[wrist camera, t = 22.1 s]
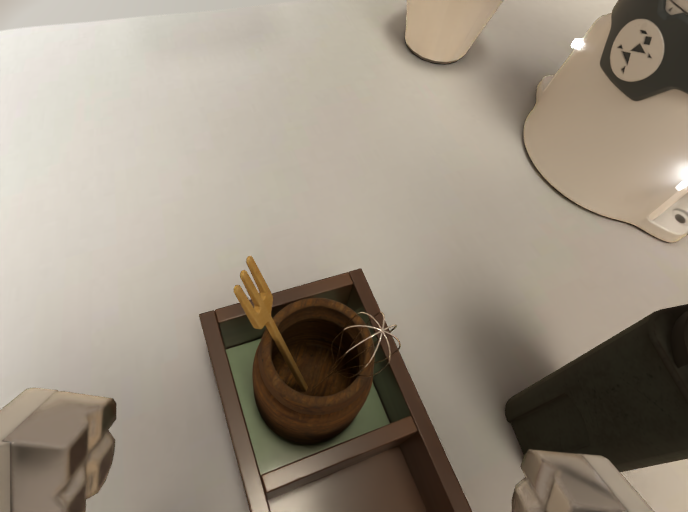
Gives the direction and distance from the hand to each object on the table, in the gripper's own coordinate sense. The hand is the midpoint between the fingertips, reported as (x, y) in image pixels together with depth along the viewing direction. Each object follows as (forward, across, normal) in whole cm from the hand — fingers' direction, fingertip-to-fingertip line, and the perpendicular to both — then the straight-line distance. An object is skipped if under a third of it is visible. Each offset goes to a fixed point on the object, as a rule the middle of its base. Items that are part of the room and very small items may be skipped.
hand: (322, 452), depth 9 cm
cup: (+42, -8, -16) cm, 46 cm away
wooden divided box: (+14, -2, +11) cm, 18 cm away
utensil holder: (+16, 0, +8) cm, 18 cm away
